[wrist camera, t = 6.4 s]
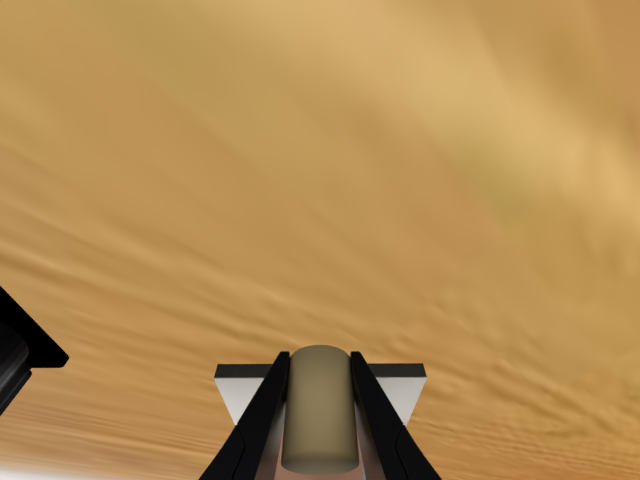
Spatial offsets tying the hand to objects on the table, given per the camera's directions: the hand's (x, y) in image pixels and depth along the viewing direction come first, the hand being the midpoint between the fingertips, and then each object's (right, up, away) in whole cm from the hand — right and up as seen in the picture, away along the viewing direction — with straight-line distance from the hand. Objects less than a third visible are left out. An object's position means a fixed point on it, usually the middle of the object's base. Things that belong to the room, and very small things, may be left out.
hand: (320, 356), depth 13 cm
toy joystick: (0, -5, +5) cm, 7 cm away
